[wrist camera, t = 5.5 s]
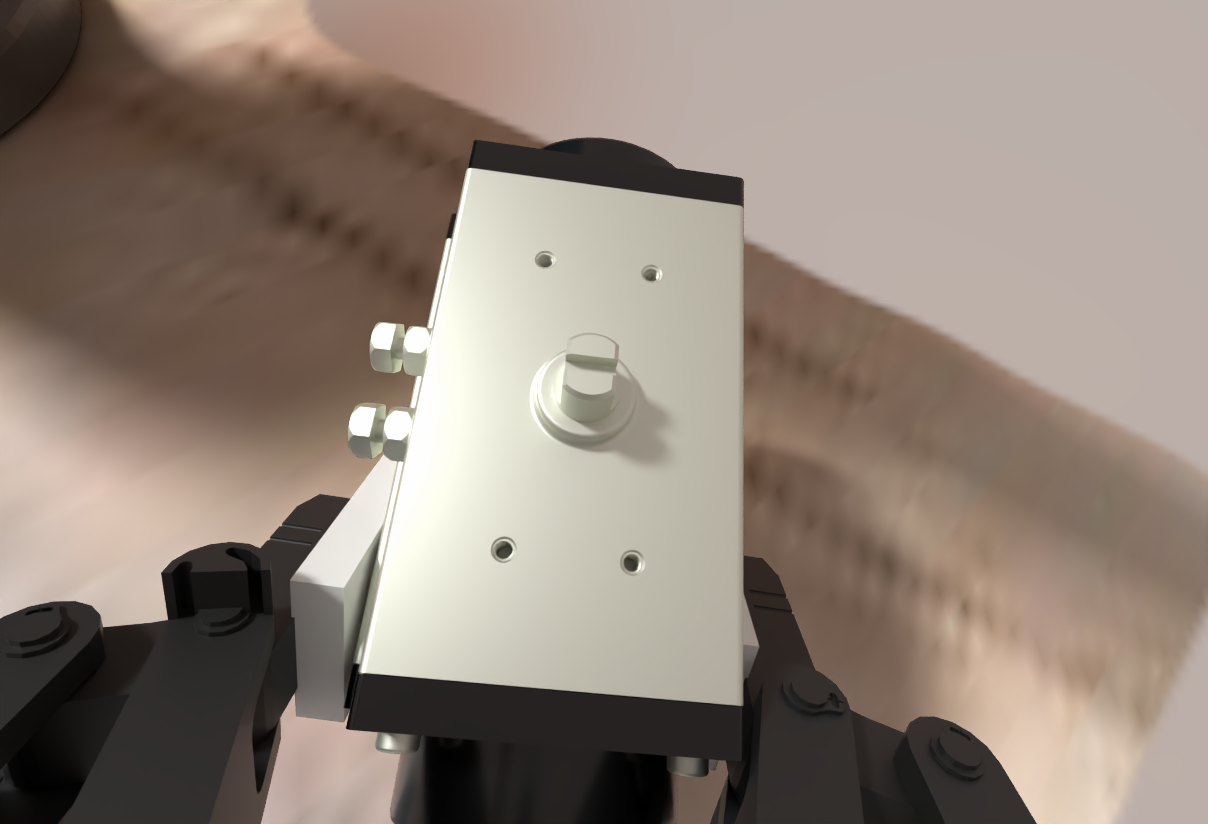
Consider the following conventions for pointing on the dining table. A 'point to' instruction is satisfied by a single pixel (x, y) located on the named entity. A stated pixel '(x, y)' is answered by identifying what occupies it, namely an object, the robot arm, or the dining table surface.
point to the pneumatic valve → (562, 497)
